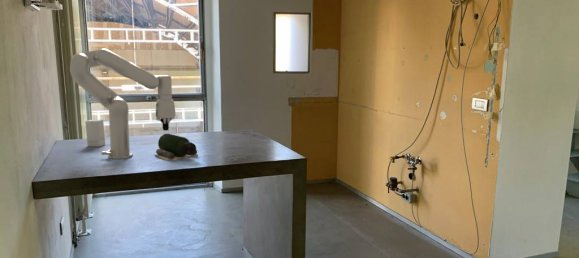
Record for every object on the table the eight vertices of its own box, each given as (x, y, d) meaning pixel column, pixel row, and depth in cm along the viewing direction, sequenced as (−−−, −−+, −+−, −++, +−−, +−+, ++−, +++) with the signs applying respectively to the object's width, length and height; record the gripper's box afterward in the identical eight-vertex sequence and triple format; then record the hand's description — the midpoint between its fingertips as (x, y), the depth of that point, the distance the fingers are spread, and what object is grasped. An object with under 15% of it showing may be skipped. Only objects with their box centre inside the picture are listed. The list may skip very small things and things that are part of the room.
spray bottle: (165, 155, 245) (191, 163, 228) (154, 143, 238) (180, 150, 222) (177, 141, 249) (203, 148, 233) (166, 129, 243) (192, 135, 226)
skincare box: (105, 144, 265) (104, 119, 262) (99, 147, 258) (98, 121, 256) (92, 144, 266) (91, 119, 263) (86, 146, 259) (84, 120, 257)
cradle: (168, 160, 227) (168, 153, 227) (155, 156, 237) (155, 149, 236) (198, 155, 240) (197, 148, 240) (184, 151, 250) (183, 145, 249)
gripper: (155, 98, 233) (157, 132, 236) (180, 97, 244) (181, 129, 247) (149, 97, 238) (150, 130, 241) (173, 96, 249) (173, 128, 252)
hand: (165, 130), depth 244 cm, fingers closed
